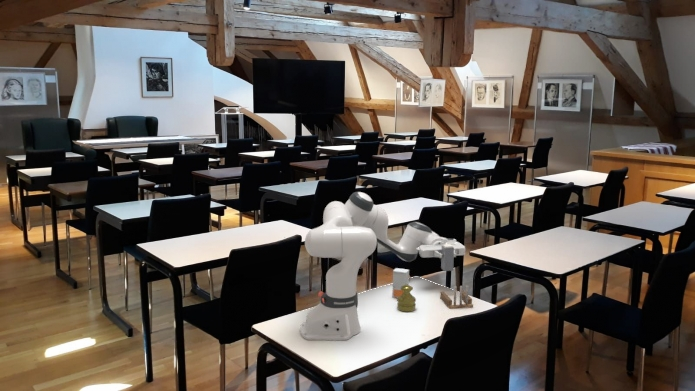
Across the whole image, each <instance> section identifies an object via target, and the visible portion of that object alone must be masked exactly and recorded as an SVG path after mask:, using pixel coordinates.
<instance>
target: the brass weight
mask: <svg viewBox="0 0 695 391" xmlns="http://www.w3.org/2000/svg"><path fill="white" fill-rule="evenodd" d="M413 289H414V288H413V286H412V285H410V284H409V285H403V286H401V290H402V291H403V294H401V295H400V296H399V297H398V298H397V303H396V304H397V310H399V311H400V312H405V313H406V312H407V313H409V312H413V311H415V310H416V301H417V298H416V297H415V296H414V295H413V294H412V293H411V291H414V290H413Z"/></svg>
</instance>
